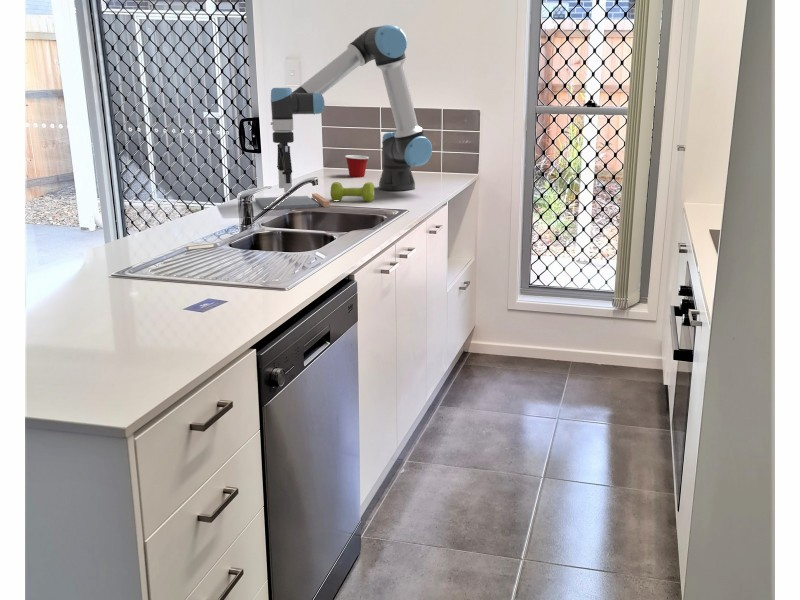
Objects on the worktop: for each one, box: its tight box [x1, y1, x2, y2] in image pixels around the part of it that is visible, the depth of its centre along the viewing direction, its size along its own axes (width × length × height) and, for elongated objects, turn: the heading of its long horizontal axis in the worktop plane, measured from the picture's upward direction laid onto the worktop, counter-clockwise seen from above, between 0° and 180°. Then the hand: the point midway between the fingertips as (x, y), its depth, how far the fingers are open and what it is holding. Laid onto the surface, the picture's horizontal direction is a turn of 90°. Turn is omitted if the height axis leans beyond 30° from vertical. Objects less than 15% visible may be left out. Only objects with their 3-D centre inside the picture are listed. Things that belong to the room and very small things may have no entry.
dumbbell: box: [330, 181, 375, 203], centre depth 298 cm, size 16×8×7 cm, turn 83°
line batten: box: [311, 192, 330, 208], centre depth 295 cm, size 2×24×2 cm, turn 16°
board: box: [254, 195, 320, 210], centre depth 292 cm, size 20×24×1 cm
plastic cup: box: [344, 154, 370, 179], centre depth 358 cm, size 11×11×12 cm
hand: (285, 190), depth 290 cm, fingers open, 13 cm apart
